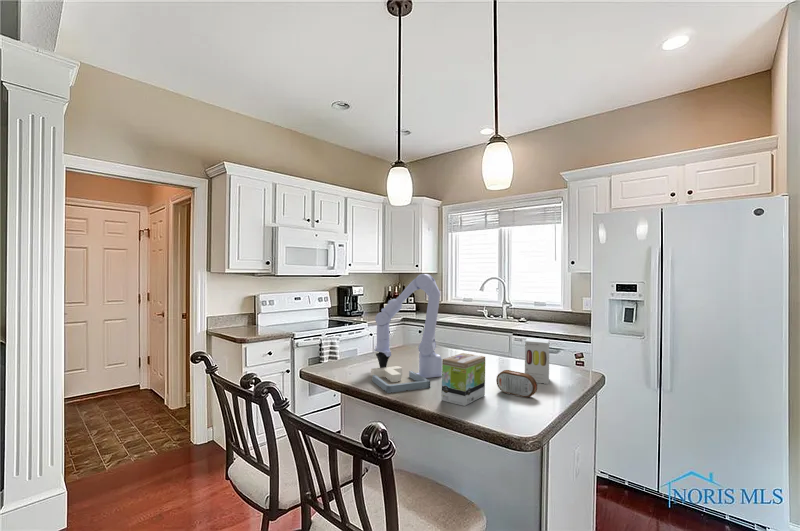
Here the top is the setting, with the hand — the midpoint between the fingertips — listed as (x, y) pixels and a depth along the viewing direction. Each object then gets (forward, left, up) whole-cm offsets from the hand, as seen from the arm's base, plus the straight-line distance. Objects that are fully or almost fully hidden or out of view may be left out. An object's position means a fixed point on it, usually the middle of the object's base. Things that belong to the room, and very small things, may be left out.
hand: (382, 369), depth 178 cm
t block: (0, +9, -2) cm, 9 cm away
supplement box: (-55, +36, -2) cm, 66 cm away
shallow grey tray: (0, +20, -1) cm, 20 cm away
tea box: (-14, +44, -2) cm, 46 cm away
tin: (-34, +48, -2) cm, 59 cm away
